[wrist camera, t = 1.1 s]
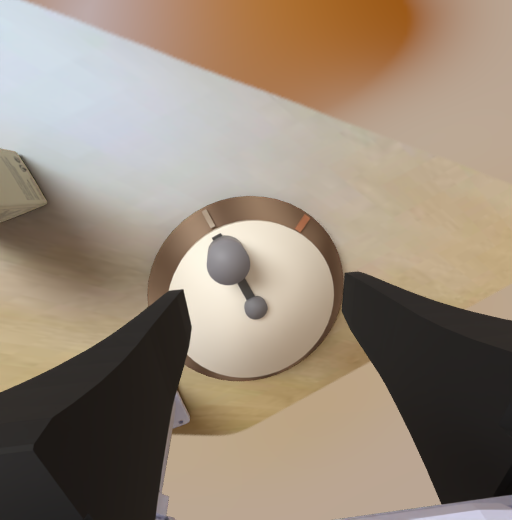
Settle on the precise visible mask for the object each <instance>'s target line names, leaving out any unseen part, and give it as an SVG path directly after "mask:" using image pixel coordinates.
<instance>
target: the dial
mask: <svg viewBox="0 0 512 520" xmlns="http://www.w3.org/2000/svg"><path fill="white" fill-rule="evenodd" d="M180 289H184V294H185V298H186V303H187V307H188V312H189V316H190V321H191V325H192V330H191V338H190V344H189V349H188V353H187V355H188V356H189V357H190V358H191V359H192V360H194V361H195V362H196V363H198V364H199V365H201V366H202V367H204V368H206V369H208V370H210V371H212V372H215V373H218V374H221V375H225V376H229V377H238V378H251V377H260V376H264V375H268V374H272V373H275V372H277V371H280V370H282V369H284V368H286V367H288V366H290V365H292V364H293V363H295V362H296V361H298V360H299V359H300V358H302V357H303V356H304V355H305V354H306V353H307V352H309V351H310V350H311V349H312V347H313V346H314V345H315V344H316V343H317V341H318V340H319V339H320V337H321V335H322V334H323V332H324V330H325V328H326V326H327V324H328V322H329V319H330V316H331V312H332V308H333V301H334V286H333V280H332V275H331V272H330V269H329V267H328V265H327V263H326V261H325V259H324V257H323V256H322V254H321V253H320V251H319V250H318V249H317V248H316V247H315V245H314V244H313V243H312V242H311V241H309V240H308V239H307V238H306V237H304V236H303V235H301V234H300V233H298V232H296V231H295V230H293V229H290V228H288V227H285V226H283V225H280V224H278V223H274V222H270V221H263V220H243V221H237V222H233V223H229V224H226V225H223V226H221V227H219V228H216V229H214V230H212V231H211V232H209V233H207V234H206V235H204V236H203V237H202V238H201V239H199V240H198V241H197V242H196V243H195V244H194V245H193V246H192V247H191V248H190V249H189V250H188V251H187V253H186V254H185V255H184V257H183V258H182V260H181V262H180V263H179V265H178V267H177V269H176V271H175V273H174V275H173V278H172V281H171V284H170V287H169V291H170V290H180Z"/></svg>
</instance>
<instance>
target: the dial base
mask: <svg viewBox="0 0 512 520" xmlns="http://www.w3.org/2000/svg"><path fill="white" fill-rule="evenodd" d="M243 220H263V221H270V222H274V223H278V224H280V225H283V226H285V227H288V228H290V229H293V230H295V231H296V232H298V233H300V234H301V235H303V236H304V237H306V238H307V239H308V240H309V241H311V242H312V243H313V244H314V245H315V247H316V248H317V249H318V250H319V251H320V253H321V254H322V256H323V257H324V259H325V261H326V263H327V265H328V267H329V269H330V272H331V275H332V280H333V286H334V301H333V308H332V312H331V316H330V319H329V322H328V324H327V326H326V328H325V330H324V332H323V334H322V335H321V337H320V339H319V340H318V341H317V343H316V344H315V345H314V346H313V347H312V349H311V350H310V351H309V352H307V353H306V354H305V355H304V356H303V357H302V358H300V359H299V360H298V361H296V362H295V363H293V364H292V365H290V366H288V367H286V368H284V369H282V370H280V371H277V372H275V373H272V374H268V375H264V376H260V377H251V378H238V377H229V376H225V375H221V374H218V373H215V372H212V371H210V370H208V369H206V368H204V367H202V366H201V365H199V364H198V363H196V362H195V361H194V360H192V359H191V358H190V357H189V356H188V355H187V357H186V360H185V365H186V366H187V367H189V368H191V369H193V370H195V371H197V372H199V373H201V374H204V375H206V376H209V377H213V378H217V379H221V380H228V381H250V380H258V379H262V378H267V377H270V376H273V375H276V374H279V373H281V372H283V371H286V370H288V369H289V368H291V367H293V366H295V365H296V364H298V363H299V362H301V361H302V360H304V359H305V358H306V357H307V356H309V355H310V354H311V353H312V352H313V351H314V350H315V349H316V348H317V347H318V346H319V345H320V344H321V342H322V341H323V340H324V338H325V337H326V336H327V334H328V333H329V331H330V329H331V328H332V326H333V324H334V322H335V320H336V317H337V315H338V312H339V309H340V305H341V301H342V295H343V271H342V265H341V261H340V258H339V254H338V252H337V250H336V247H335V245H334V243H333V241H332V240H331V238H330V236H329V235H328V233H327V232H326V231H325V230H324V229H323V227H322V226H321V225H320V224H319V223H318V222H317V221H316V220H315V219H314V218H313V217H311V216H310V215H308V214H307V213H306V212H304V211H303V210H301V209H299V208H297V207H295V206H293V205H291V204H289V203H286V202H283V201H280V200H277V199H272V198H267V197H256V196H244V197H233V198H229V199H225V200H221V201H218V202H215V203H213V204H210V205H207V206H205V207H204V208H202V209H200V210H198V211H196V212H195V213H193V214H192V215H191V216H189V217H188V218H187V219H185V220H184V221H183V222H182V223H181V224H180V225H179V226H178V227H176V228H175V229H174V230H173V231H172V233H171V234H170V235H169V236H168V238H167V239H166V240H165V242H164V243H163V245H162V246H161V248H160V250H159V252H158V253H157V255H156V258H155V260H154V263H153V265H152V268H151V272H150V277H149V281H148V307H149V306H150V305H151V304H153V303H154V302H155V301H156V300H158V299H159V298H160V297H161V296H163V295H164V294H165V293H167V292H168V291H169V287H170V284H171V281H172V278H173V275H174V273H175V271H176V269H177V267H178V265H179V263H180V262H181V260H182V258H183V257H184V255H185V254H186V253H187V251H188V250H189V249H190V248H191V247H192V246H193V245H194V244H195V243H196V242H197V241H198V240H199V239H201V238H202V237H203V236H204V235H206V234H207V233H209V232H211V231H212V230H214V229H216V228H219V227H221V226H223V225H226V224H229V223H233V222H237V221H243Z"/></svg>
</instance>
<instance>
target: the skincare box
mask: <svg viewBox="0 0 512 520" xmlns="http://www.w3.org/2000/svg"><path fill="white" fill-rule="evenodd" d="M46 204H47V201H46V199H45V197H44V195H43V194H42V192H41V190H40V189H39V187H38V185H37V183H36V182H35V180H34V178H33V177H32V175H31V174H30V172H29V170H28V169H27V167H26V166H25V164H24V163H23V161H22V160H21V158H20V157H19V155H18V154H17V153H16V152H15V151H11V150H6V149H0V222H3V221H6V220H9V219H11V218H14V217H16V216H19V215H22V214H24V213H27V212H29V211H32V210H34V209H37V208H39V207H41V206H44V205H46Z"/></svg>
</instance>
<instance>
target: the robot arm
mask: <svg viewBox="0 0 512 520" xmlns="http://www.w3.org/2000/svg"><path fill="white" fill-rule="evenodd" d="M342 313H343V315H344V317H345V319H346V322H347V324H348V326H349V328H350V330H351V331H352V333H353V335H354V336H355V338H356V339H357V341H358V342H359V344H360V345H361V347H362V348H363V350H364V351H365V353H366V355H367V356H368V358H369V359H370V361H371V362H372V363H373V365H374V367H375V368H376V370H377V371H378V373H379V374H380V376H381V378H382V379H383V381H384V383H385V385H386V386H387V388H388V390H389V392H390V394H391V396H392V398H393V400H394V402H395V403H396V405H397V408H398V410H399V412H400V414H401V416H402V418H403V420H404V422H405V424H406V426H407V428H408V430H409V432H410V434H411V436H412V438H413V441H414V443H415V445H416V447H417V449H418V451H419V454H420V456H421V458H422V460H423V462H424V464H425V467H426V469H427V471H428V474H429V476H430V478H431V481H432V483H433V485H434V488H435V490H436V492H437V495H438V497H439V499H440V502H441V504H442V505H435V506H428V507H421V508H414V509H407V510H399V511H393V512H385V513H378V514H371V515H364V516H356V517H349V518H342V519H335V520H512V321H511V320H505V319H501V318H497V317H492V316H488V315H484V314H479V313H475V312H471V311H468V310H464V309H460V308H457V307H453V306H450V305H447V304H443V303H440V302H437V301H434V300H431V299H428V298H425V297H423V296H420V295H417V294H414V293H412V292H409V291H407V290H404V289H402V288H399V287H397V286H394V285H392V284H389V283H387V282H385V281H382V280H380V279H377V278H375V277H373V276H370V275H367V274H365V273H361V272H349V273H345V276H344V289H343V301H342ZM191 330H192V325H191V321H190V316H189V312H188V307H187V303H186V298H185V294H184V289H180V290H170V291H168V292H167V293H165V294H164V295H163V296H161V297H160V298H159V299H158V300H156V301H155V302H154V303H153V304H151V305H150V306H149V307H148V308H146V309H145V310H144V311H143V312H141V313H140V314H139V315H138V316H136V317H135V318H134V319H132V320H131V321H130V322H128V323H127V324H126V325H124V326H123V327H122V328H120V329H119V330H117V331H116V332H115V333H113V334H112V335H110V336H109V337H107V338H106V339H104V340H102V341H101V342H99V343H98V344H96V345H94V346H93V347H91V348H89V349H88V350H86V351H84V352H82V353H81V354H79V355H77V356H75V357H73V358H71V359H70V360H68V361H66V362H64V363H62V364H60V365H59V366H57V367H55V368H53V369H51V370H49V371H47V372H45V373H42V374H40V375H38V376H36V377H34V378H32V379H30V380H28V381H25V382H23V383H21V384H19V385H17V386H14V387H12V388H10V389H8V390H5V391H3V392H1V393H0V520H175V518H173V517H168V516H167V517H166V514H167V507H168V501H169V496H166V495H164V494H162V487H163V482H164V476H165V470H166V464H167V458H168V453H169V447H170V441H171V435H172V429H174V428H176V427H179V426H181V425H184V424H187V423H188V422H189V421H190V415H189V413H188V411H187V409H186V407H185V405H184V403H183V401H182V399H181V397H180V395H179V393H178V391H177V388H178V385H179V381H180V378H181V374H182V371H183V367H184V364H185V360H186V357H187V353H188V349H189V344H190V338H191ZM180 420H182V421H180Z"/></svg>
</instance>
